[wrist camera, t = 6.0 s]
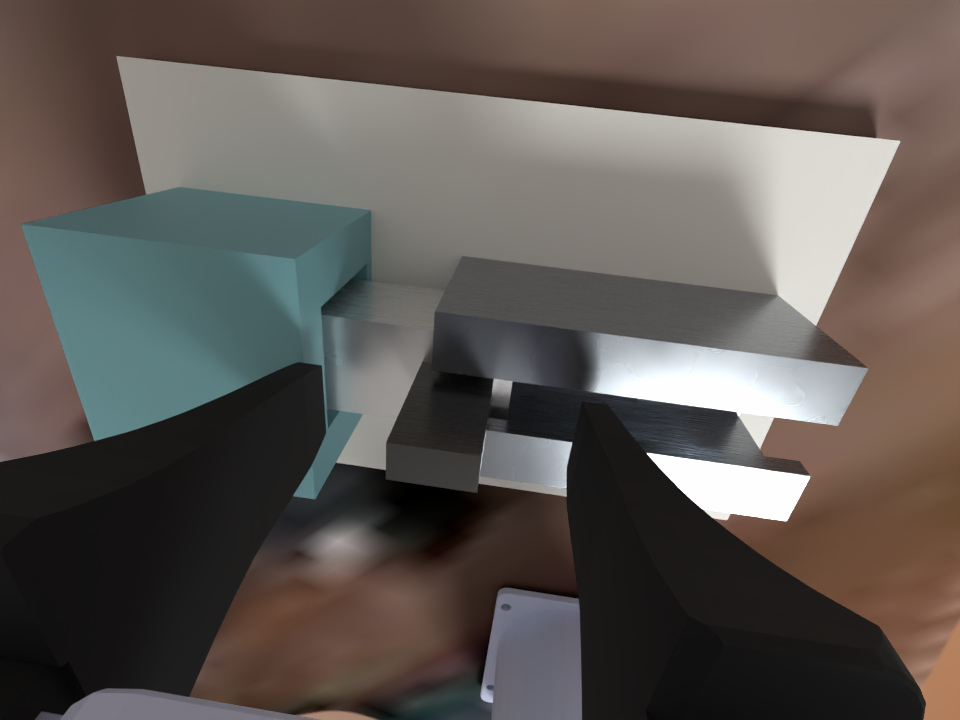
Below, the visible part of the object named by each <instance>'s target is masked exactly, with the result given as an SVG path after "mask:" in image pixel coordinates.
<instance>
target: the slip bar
mask: <svg viewBox="0 0 960 720" xmlns="http://www.w3.org/2000/svg"><path fill="white" fill-rule="evenodd" d="M444 292H445V290H439V289H431V288H423V287H416V286H408V285H400V284H392V283H385V282H377V281H369V280H361V279H353V278H351V279H350V280H349V281H348V282H347V283H346V284H345V285H344V286H343V287H342V288H341V289H340V290H339V291H338V292H337V293H335V294H334V295H333V296H332V297H331V298H330V299H329V300H328V301H327V302H326V303H325V304H324V305H323V306H322V307H321V318H322V335H323V351H324V368H325V384H326V400H327V409H330V410H338V411H345V412H352V413H359V414H366V415H373V416H380V417H387V418H394V419H396V421H395V424H394V426H393V428H392V430H391V433H390V435H389V437H388V439H387V441H386V479H387V480H394V481H400V482H407V483H414V484H421V485H427V486H434V487H441V488H448V489H454V490H461V491H468V492H475V493H477V490H478V484H479V477H480V471H481V465H482V458H483V452H484V446H485V439H486V433H487V427H488V420H489V418H495V419H502V420H507V416H508V409H509V402H510V396H511V389H512V382H513V381H507V380H499V379H492V378H485V377H477V376H470V375H463V374H455V373H448V372H441V371H433V370H431V369H432V351H433V333H434V315H435V310H436V308H437V306H438V304H439V302H440V300H441V298H442V296H443V294H444Z"/></svg>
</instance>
